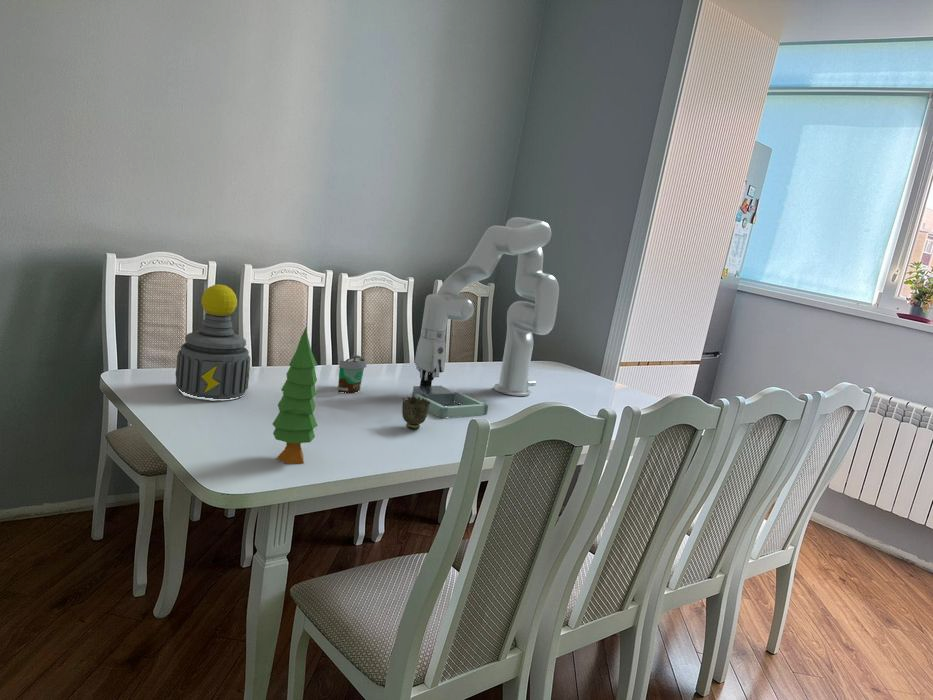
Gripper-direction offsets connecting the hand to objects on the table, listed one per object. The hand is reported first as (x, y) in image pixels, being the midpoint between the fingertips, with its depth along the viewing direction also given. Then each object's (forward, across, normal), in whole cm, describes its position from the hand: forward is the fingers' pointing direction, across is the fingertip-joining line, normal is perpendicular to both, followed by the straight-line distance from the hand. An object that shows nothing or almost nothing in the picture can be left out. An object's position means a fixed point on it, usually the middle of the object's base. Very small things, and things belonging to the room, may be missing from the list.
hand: (424, 391), depth 231 cm
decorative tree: (+2, -38, +63) cm, 74 cm away
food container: (+2, +10, +20) cm, 22 cm away
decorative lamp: (+2, +14, +62) cm, 64 cm away
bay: (+2, -13, 0) cm, 13 cm away
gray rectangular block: (+2, -6, +1) cm, 7 cm away
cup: (+2, -26, +22) cm, 35 cm away
